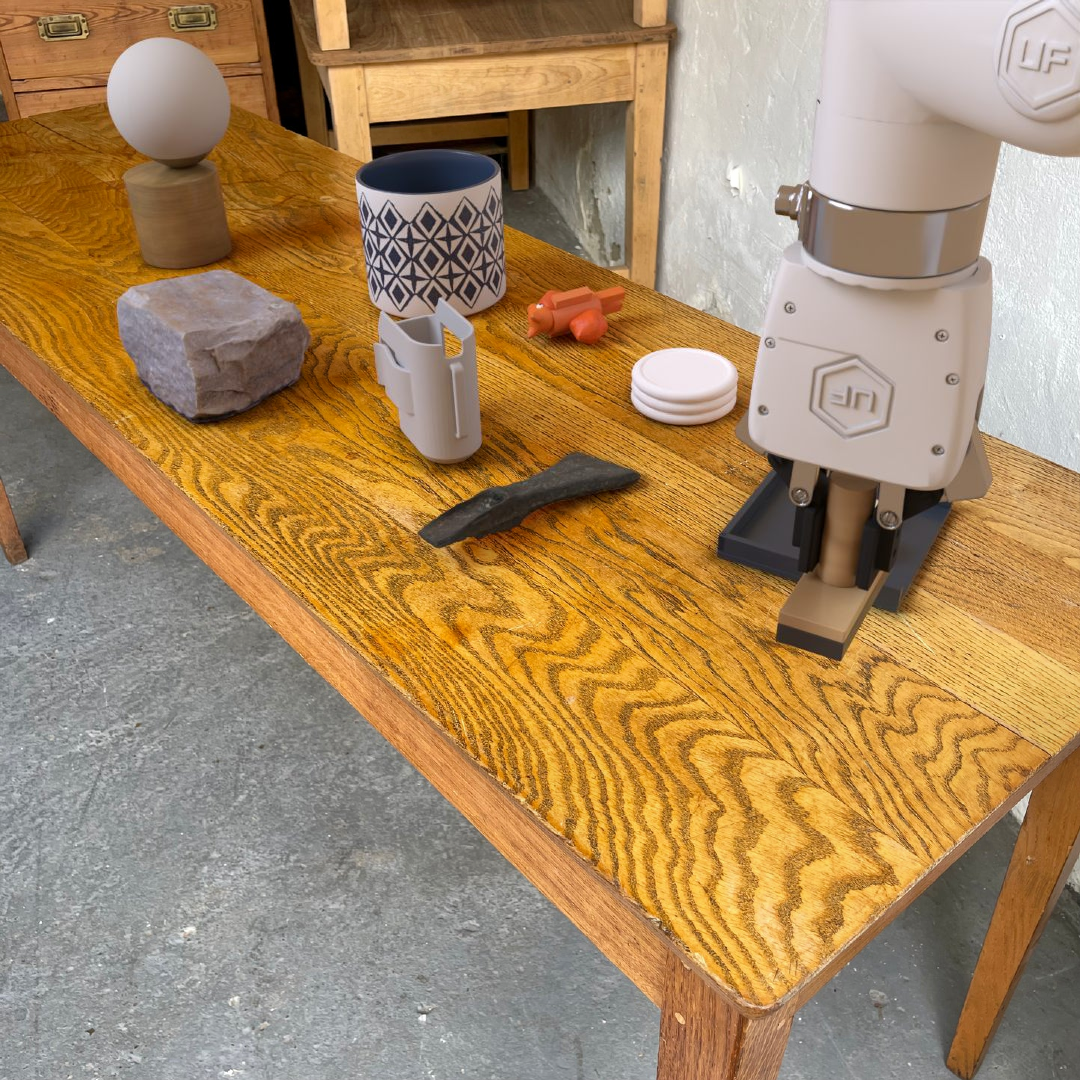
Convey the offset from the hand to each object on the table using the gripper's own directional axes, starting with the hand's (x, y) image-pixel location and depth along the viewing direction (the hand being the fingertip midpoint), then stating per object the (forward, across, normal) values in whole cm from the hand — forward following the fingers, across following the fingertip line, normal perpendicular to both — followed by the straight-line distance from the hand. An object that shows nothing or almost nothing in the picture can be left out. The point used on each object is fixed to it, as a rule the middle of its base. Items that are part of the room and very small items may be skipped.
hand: (841, 565), depth 58 cm
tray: (+15, -7, +25) cm, 30 cm away
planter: (+15, -62, +50) cm, 81 cm away
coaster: (+15, -27, +39) cm, 50 cm away
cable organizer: (+15, -44, +22) cm, 51 cm away
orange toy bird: (+15, -42, +47) cm, 65 cm away
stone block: (+15, -69, +22) cm, 74 cm away
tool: (+15, -31, +16) cm, 38 cm away
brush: (+3, 0, 0) cm, 3 cm away
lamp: (+14, -100, +48) cm, 111 cm away
